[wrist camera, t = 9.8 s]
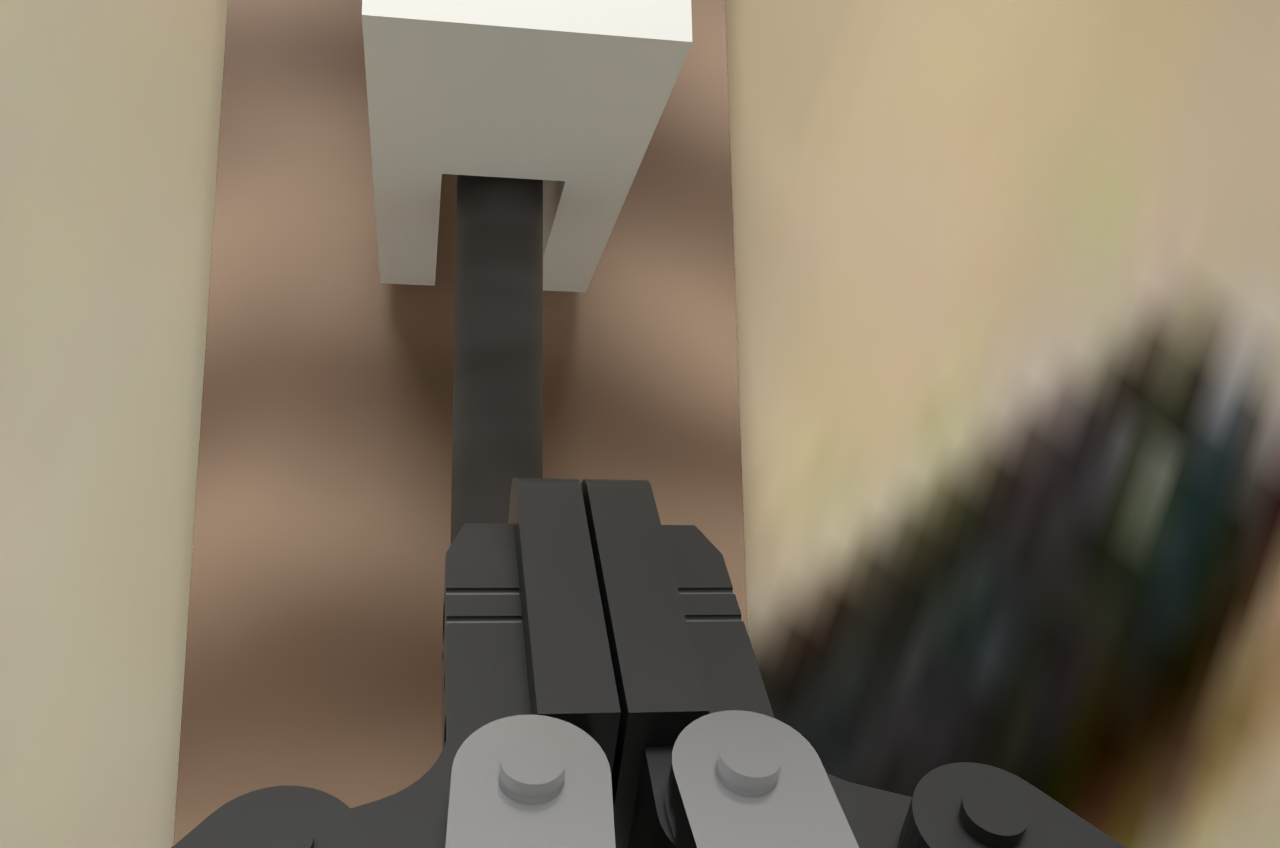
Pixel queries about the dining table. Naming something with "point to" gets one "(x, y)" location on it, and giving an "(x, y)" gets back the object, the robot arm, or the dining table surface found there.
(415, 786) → the robot arm
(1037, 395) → the dining table surface
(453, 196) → the cord stand
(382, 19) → the white slider block
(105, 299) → the dining table surface
